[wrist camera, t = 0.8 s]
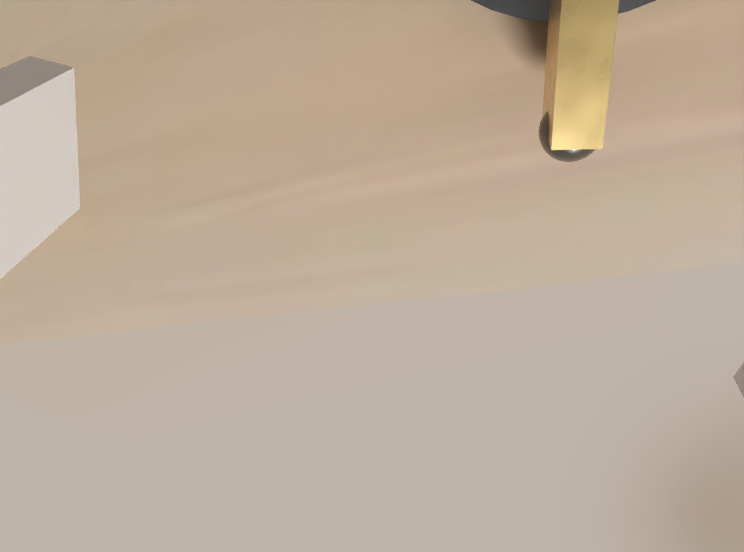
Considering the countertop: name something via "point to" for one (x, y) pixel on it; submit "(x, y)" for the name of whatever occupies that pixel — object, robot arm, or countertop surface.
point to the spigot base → (542, 7)
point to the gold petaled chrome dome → (577, 76)
